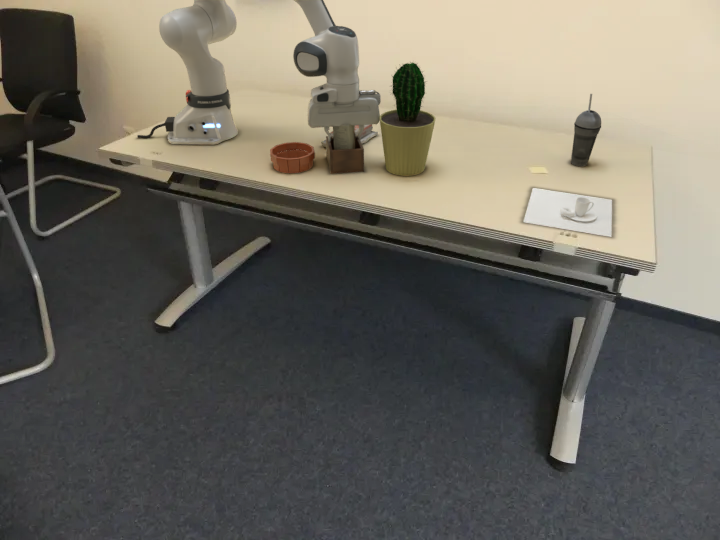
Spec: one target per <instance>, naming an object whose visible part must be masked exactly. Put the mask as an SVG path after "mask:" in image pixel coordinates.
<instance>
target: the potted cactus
mask: <svg viewBox="0 0 720 540" xmlns="http://www.w3.org/2000/svg"><path fill="white" fill-rule="evenodd" d="M418 64H419V62H414V61H412V62H411V61H409V62H406V63H401V65H400V66H399V67H398V68H397V66H395V69H396V71H395V70H394V73H393V75H392V79H391V80H392V85H390V87H391V88H392V89H390V90H389V92H390V91H392V92H391V95H393V99H394V102H395V104H393V106H394V107H396V108H395V109H391V110H387V111H385V112H383V113H380V117H379V119H380V121H379V125H380V132H381V133H380V135H381V140H382V148H383V149H382V150H383V156H384V157H383V158H384V165H385V166H384V167H385V169H386V171H387V172H389V173H390V174H392V175H396V176H401V177H410V176H411V177H413V176H416V175H417V176H418V175H420V174H422V173H423V172H424V171H425V168H426V165H427V159H428V156H429V151H430V146H431V142H432V137H433V133H434V129H435V124H436V123H435V122H436V116H435V115H434V114H432V113H430V112H429V111H425V110H422V109H421V108H423V105H422V102H423V100H425V99H426V97H425V94H426V84H427V82H428V80H427V81H425V76H424V73H423V72H424V71H422V69H421V67H420V66H419V65H418Z"/></svg>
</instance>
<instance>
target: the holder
mask: <svg viewBox="0 0 720 540" xmlns="http://www.w3.org/2000/svg"><path fill="white" fill-rule="evenodd" d="M325 140H326V147H325V150H326V151H325V152H326V160H327V161H326V162H327V164H328V168H329V172H330V174H331V175H334V174H347V173H349V174H350V173H363V172H365V147H364V146H363V144H362V143H361V141H360V140H355V149H342V150H334V141H330V142H329V141H328V135H326V136H325Z"/></svg>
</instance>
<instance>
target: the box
mask: <svg viewBox="0 0 720 540" xmlns="http://www.w3.org/2000/svg"><path fill="white" fill-rule="evenodd" d="M332 131H333V135H334V150H342V149H355V125H353V126H351V124H343V125H340V126H335V127H332Z"/></svg>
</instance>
